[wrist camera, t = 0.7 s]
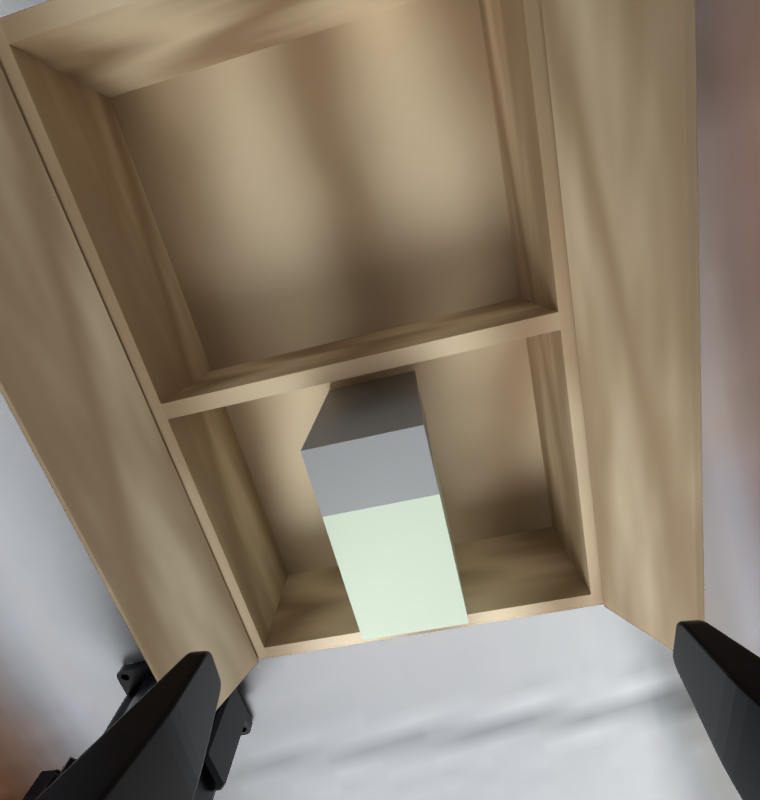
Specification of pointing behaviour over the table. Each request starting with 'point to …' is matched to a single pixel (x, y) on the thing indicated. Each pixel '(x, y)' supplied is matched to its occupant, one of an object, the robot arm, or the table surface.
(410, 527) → the box
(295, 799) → the table surface
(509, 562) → the wooden cubby shelf
